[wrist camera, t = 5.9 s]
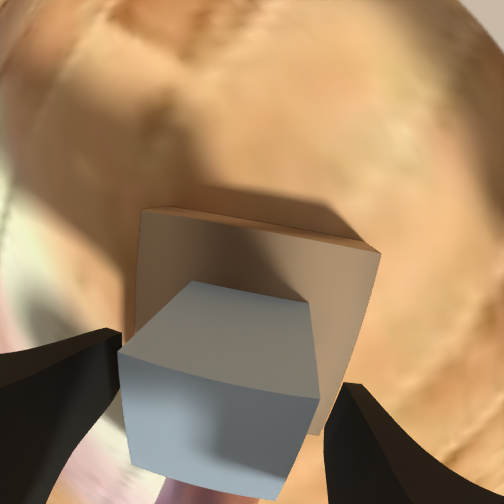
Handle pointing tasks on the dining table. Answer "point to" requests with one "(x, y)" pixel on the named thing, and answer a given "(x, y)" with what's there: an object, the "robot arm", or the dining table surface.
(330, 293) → the tan block
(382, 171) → the dining table surface
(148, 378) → the pale grey-blue block
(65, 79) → the dining table surface
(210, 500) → the beverage can
